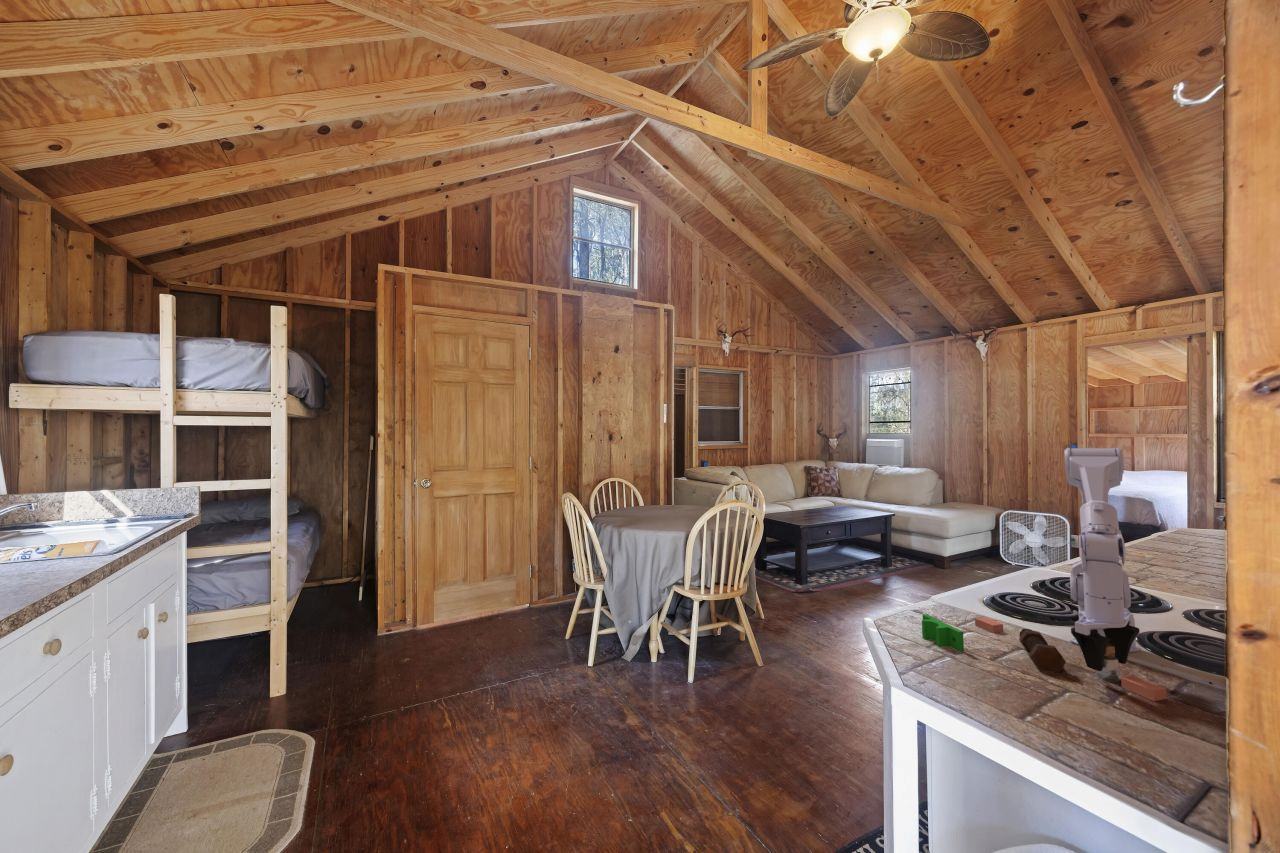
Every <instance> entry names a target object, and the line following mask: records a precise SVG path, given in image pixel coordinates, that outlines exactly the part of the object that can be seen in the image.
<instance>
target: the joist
mask: <svg viewBox="0 0 1280 853" xmlns="http://www.w3.org/2000/svg"><path fill="white" fill-rule="evenodd" d="M974 625H975V626H976V627H978V628H979V629H980V628H981V629H982V630H985V631H988V632H989V633H992V634H996V633H1003V632H1004V624H1003V623H1001V622H998V621H996V620H993V619H990V618H989V617H986V616H981V617H974Z"/></svg>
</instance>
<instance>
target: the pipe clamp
mask: <svg viewBox="0 0 1280 853" xmlns="http://www.w3.org/2000/svg"><path fill="white" fill-rule="evenodd" d="M921 635H922V636H921V637H922V638H921V639H923V640H930V641H934V642H936V647H937V646H938V647H937V648H943V647H942V646H948V647H950V648H951V647H952V648H951V649H953V648H954V649H953V650H955V649H956V650H955V651H958V652H959V653H960V652H962V651H963V652H965V648H964V647H965V645H964V644H965V643H964V641H965V640H964V631H963V630H961V629H959V628H957V627H955V626H953V625H950V624H948V623H946V622H943V621H942V620H939V619H938V618H935V617H933V616H931V615H929V614H927V613H926V614H922V619H921ZM963 652H962V653H963Z"/></svg>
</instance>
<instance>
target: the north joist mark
mask: <svg viewBox="0 0 1280 853" xmlns="http://www.w3.org/2000/svg"><path fill="white" fill-rule="evenodd" d="M1120 681H1121V683H1120V684H1121V689H1125V690H1127V691H1128V692H1132V693H1133V694H1136V695H1138V696H1140V695H1141V697H1143V698H1145V699H1148V700H1149V701H1150V700H1151V701H1153V702H1156V701H1162V700H1167V698H1168V696H1167V688H1165V687H1163V686H1160V685H1158V684H1155V683H1152V682H1150V681H1148V680H1145V679H1143V678H1140V677H1138V676H1135V675H1132V676H1125V677H1120Z"/></svg>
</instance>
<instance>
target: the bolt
mask: <svg viewBox="0 0 1280 853" xmlns="http://www.w3.org/2000/svg"><path fill="white" fill-rule="evenodd" d="M1018 638H1019V639H1018V640H1019V642H1020V643H1021V645H1022V646H1023V647H1024V650H1026V652H1029V654H1028V657H1029V659H1030V660H1031V661H1032V662H1033V664H1034V665H1035V667H1036V669H1037V670H1038V671H1041V672H1047V673H1053V674H1054V673H1060V672H1061V671H1062V669H1063V668H1064V666H1065V664H1066V662H1067V661H1066V660H1065V658H1064V656H1062V654H1061V653H1060V651H1059V650H1058V649H1057V648H1056V646H1055V645H1051V644H1048V642H1047V640H1046V639H1045V638H1044V636H1043V635H1042V633H1041V632H1040V631H1037V630H1032V629H1030V628H1023V629H1021V631H1019V637H1018Z"/></svg>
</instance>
